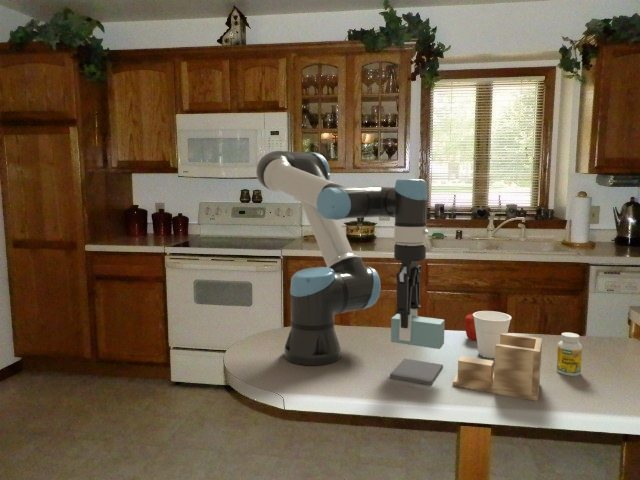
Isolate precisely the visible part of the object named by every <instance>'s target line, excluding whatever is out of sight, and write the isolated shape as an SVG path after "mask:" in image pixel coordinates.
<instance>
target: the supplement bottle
mask: <svg viewBox="0 0 640 480" xmlns="http://www.w3.org/2000/svg"><path fill="white" fill-rule="evenodd" d="M580 337H581V336H580V335H579V334H578V333H574V332H562V333H561V336H560V339H561V340H560V341H558V343H557V353H556V354H557V356H556V357H557V358H556V371H557V372H558V373H559V374H561V375H565V376H569V377H575V376H580V374H581V373H582V357H583V346H582V344H581V343H580Z"/></svg>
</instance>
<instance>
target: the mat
mask: <svg viewBox="0 0 640 480" xmlns="http://www.w3.org/2000/svg"><path fill="white" fill-rule="evenodd" d="M443 366H444V365H443V364H441V363H434V362H430V361H429V362H428V361H422V360H416V359H411V358H410V359H409V358H405V357H404V358H403V360H401V361H400V362H399V364H398V365H397V366H396V367H395V368H394V369H393V370H391V373H389V378H391V379H395V380H396V379H397V380H402V381H405V382H406V381H407V382H412V383H416V384H417V383H418V384H424V385H429V386H432V384H433V383H434V382H435V380H437V377H438V376H439V374H440V373H441V371H442V369H443Z"/></svg>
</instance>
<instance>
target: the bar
mask: <svg viewBox="0 0 640 480" xmlns="http://www.w3.org/2000/svg"><path fill="white" fill-rule="evenodd" d="M445 320H446V319H442V318H436V317H435V318H434V317H428V316H427V317H426V316H419V315H417V316H411V341H404V340H399V326H400V314H396V313H395V315H393V316H392V317H391V324H390V325H391V326H390V343H395V344H401V345H402V344H403V345H409V346H417V347H424V348H427V349H429V348H430V349H437V350H440V349H441V348H442V347H443V346H444V344H445V324H446V321H445Z"/></svg>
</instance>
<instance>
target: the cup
mask: <svg viewBox="0 0 640 480" xmlns="http://www.w3.org/2000/svg"><path fill="white" fill-rule="evenodd" d="M472 314H473V317H474V322H475V329H476V337H477V341H476V343H477V350H478V354H479V355H480V356H481V355H482V356H481V357H483V356H485V357H487V359H491V358H495V345H496V344H500V334H501V333H505V334H508V331H509V327H510V323H511V321H512V316H511V315H510V314H507V313H504V312H501V311H493V310H481V311H480V310H479V311H475V312H473V313H472ZM485 357H484V358H485Z"/></svg>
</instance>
